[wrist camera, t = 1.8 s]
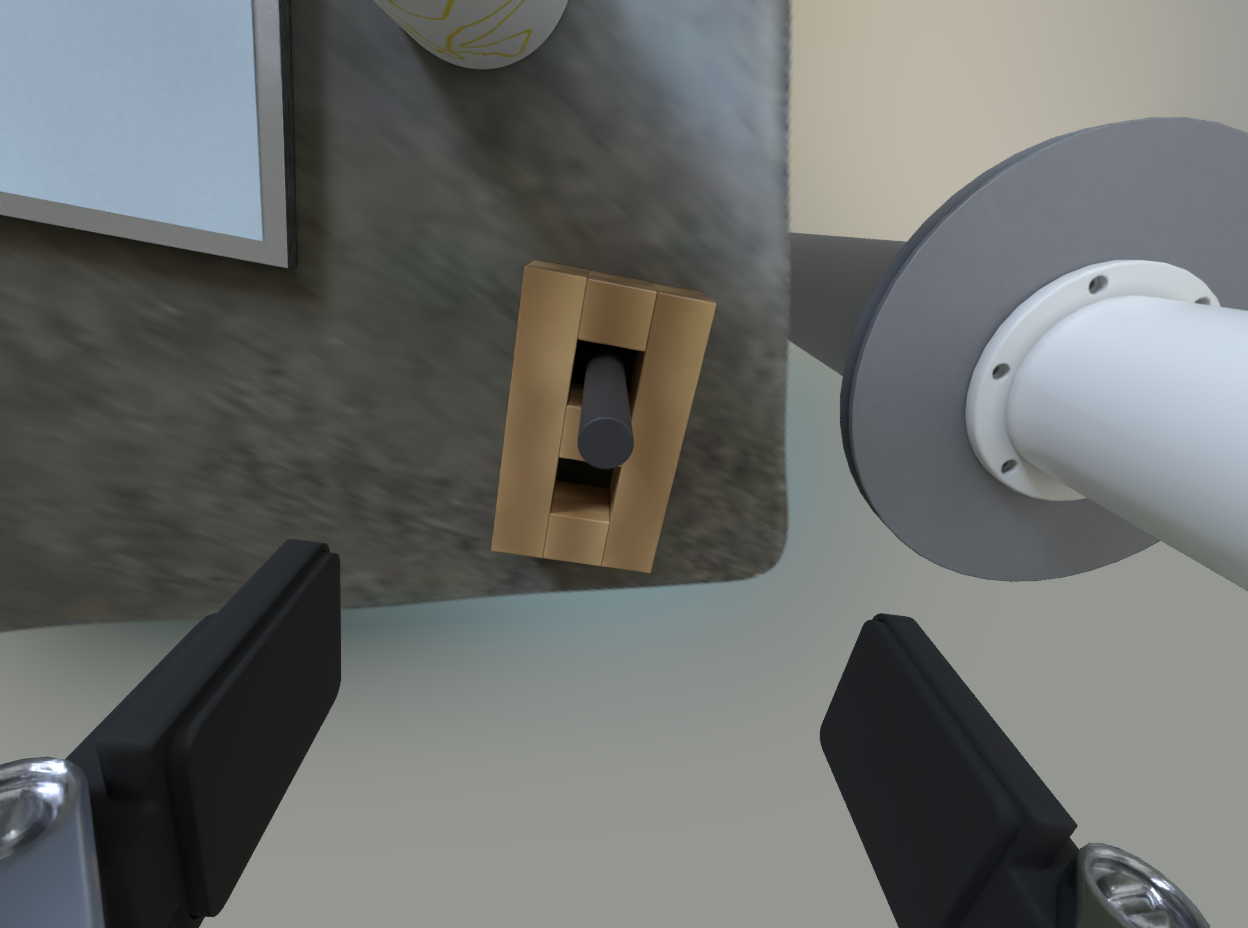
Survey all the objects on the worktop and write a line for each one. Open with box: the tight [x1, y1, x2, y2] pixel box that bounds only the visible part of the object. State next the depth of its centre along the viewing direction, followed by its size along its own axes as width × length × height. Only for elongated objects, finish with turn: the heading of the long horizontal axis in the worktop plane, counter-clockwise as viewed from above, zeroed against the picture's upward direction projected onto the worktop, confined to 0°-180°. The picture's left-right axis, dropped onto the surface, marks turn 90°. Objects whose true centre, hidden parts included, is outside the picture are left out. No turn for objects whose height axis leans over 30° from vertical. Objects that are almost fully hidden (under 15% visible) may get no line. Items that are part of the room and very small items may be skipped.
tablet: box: [0, 0, 297, 268], centre depth 23 cm, size 20×15×1 cm
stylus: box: [577, 345, 634, 469], centre depth 24 cm, size 2×2×12 cm
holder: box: [491, 260, 716, 573], centre depth 29 cm, size 8×14×4 cm, turn 169°
